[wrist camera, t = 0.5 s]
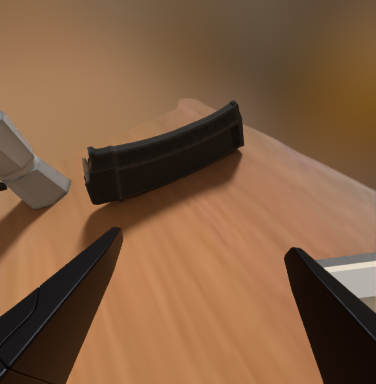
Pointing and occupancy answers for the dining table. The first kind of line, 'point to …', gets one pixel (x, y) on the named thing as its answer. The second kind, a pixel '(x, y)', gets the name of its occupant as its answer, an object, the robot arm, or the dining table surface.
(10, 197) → the dining table surface
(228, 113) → the magazine
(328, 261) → the board
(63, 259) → the dining table surface
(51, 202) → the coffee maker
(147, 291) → the dining table surface
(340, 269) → the ticket
